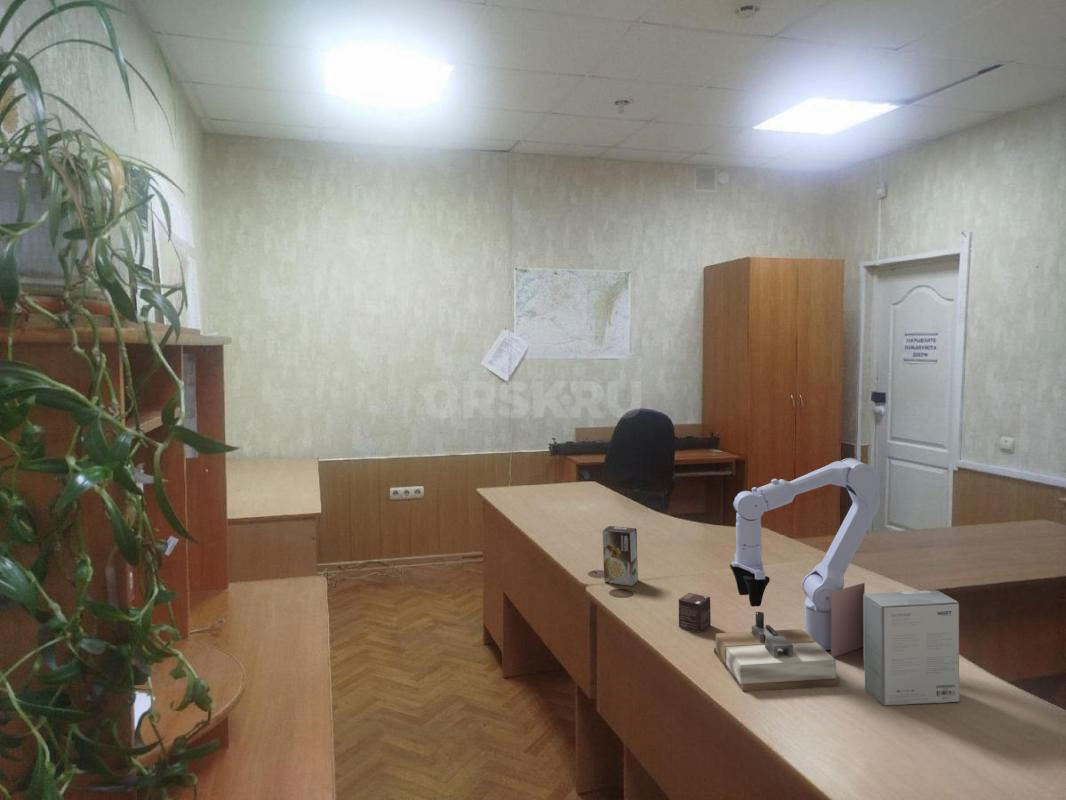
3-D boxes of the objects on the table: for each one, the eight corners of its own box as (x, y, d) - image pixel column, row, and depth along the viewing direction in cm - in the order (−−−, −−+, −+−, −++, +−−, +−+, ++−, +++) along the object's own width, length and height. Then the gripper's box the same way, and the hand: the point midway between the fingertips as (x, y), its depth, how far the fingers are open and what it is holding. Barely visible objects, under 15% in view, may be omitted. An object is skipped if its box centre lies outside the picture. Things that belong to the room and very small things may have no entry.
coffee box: (639, 580, 218) (638, 528, 216) (631, 586, 212) (630, 533, 211) (610, 576, 222) (609, 525, 221) (603, 582, 216) (601, 530, 215)
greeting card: (860, 644, 167) (861, 581, 166) (890, 656, 160) (890, 590, 159) (827, 656, 161) (828, 590, 160) (857, 668, 155) (857, 600, 154)
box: (689, 620, 185) (689, 592, 184) (711, 625, 181) (711, 596, 181) (678, 627, 180) (677, 599, 180) (700, 633, 176) (700, 604, 176)
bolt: (754, 629, 164) (754, 611, 164) (762, 629, 164) (761, 611, 164) (765, 641, 157) (765, 622, 157) (773, 641, 157) (773, 622, 157)
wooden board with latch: (713, 652, 165) (713, 620, 165) (798, 647, 166) (798, 615, 166) (742, 691, 146) (742, 655, 146) (838, 685, 147) (838, 650, 147)
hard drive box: (937, 684, 147) (938, 589, 145) (960, 703, 139) (962, 602, 138) (862, 688, 146) (862, 592, 145) (881, 706, 139) (882, 606, 137)
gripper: (722, 536, 175) (722, 590, 176) (742, 552, 161) (743, 612, 161) (750, 534, 175) (751, 589, 176) (773, 551, 161) (774, 610, 162)
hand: (749, 600), depth 169 cm, fingers open, 7 cm apart
